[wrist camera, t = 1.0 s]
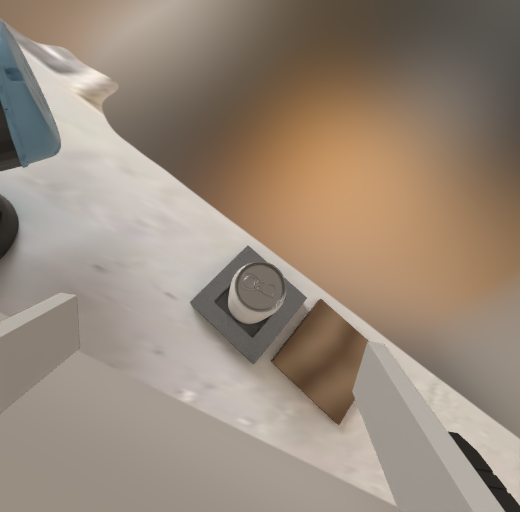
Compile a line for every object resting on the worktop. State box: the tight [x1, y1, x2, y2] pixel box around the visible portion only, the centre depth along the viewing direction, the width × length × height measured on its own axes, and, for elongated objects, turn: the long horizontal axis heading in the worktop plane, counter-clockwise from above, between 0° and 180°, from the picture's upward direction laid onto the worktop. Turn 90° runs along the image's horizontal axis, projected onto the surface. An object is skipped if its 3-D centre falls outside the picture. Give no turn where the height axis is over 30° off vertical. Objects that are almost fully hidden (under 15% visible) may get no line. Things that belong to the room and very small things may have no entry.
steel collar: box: [190, 246, 307, 364], centre depth 37 cm, size 12×12×2 cm
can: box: [228, 261, 286, 324], centre depth 32 cm, size 6×6×12 cm
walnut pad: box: [271, 299, 369, 425], centre depth 36 cm, size 12×12×1 cm
